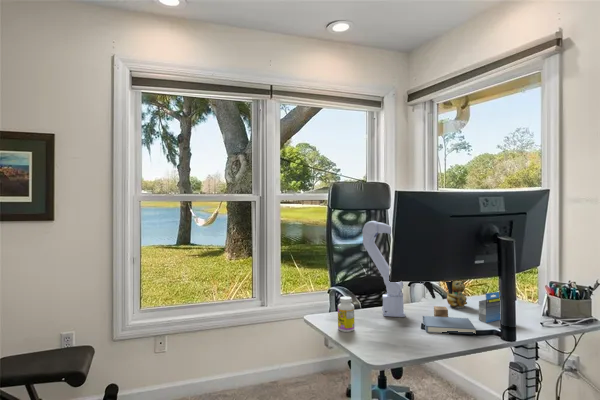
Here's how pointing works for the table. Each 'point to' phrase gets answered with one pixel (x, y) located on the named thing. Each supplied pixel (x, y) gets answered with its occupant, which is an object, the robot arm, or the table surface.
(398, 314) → the robot arm
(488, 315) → the label tape box
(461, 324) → the book
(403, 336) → the table surface
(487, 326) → the table surface
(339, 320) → the supplement bottle
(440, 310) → the walnut block
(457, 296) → the decorative figurine
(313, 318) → the table surface
